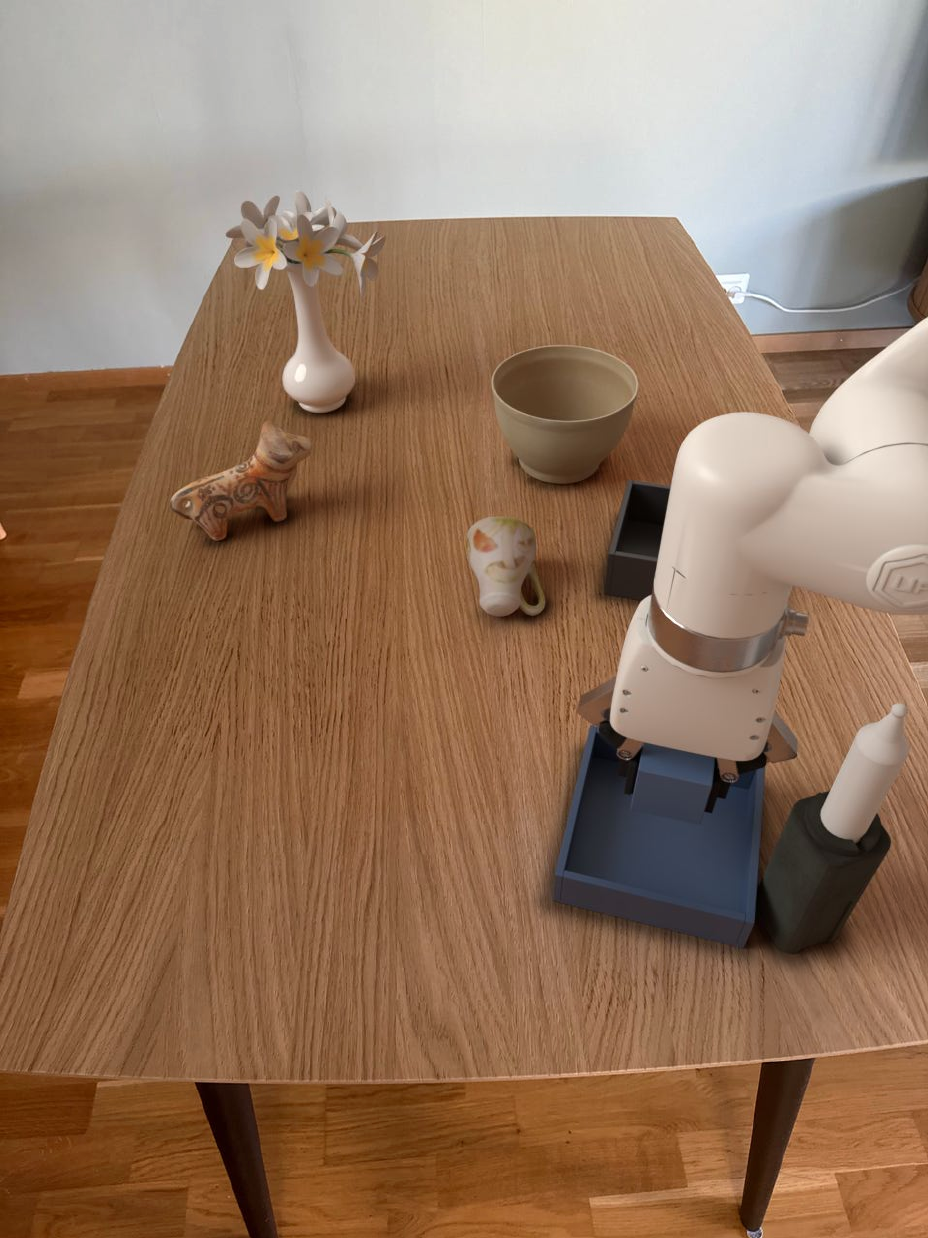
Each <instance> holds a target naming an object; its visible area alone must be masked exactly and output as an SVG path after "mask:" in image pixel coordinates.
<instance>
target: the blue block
mask: <svg viewBox="0 0 928 1238" xmlns="http://www.w3.org/2000/svg"><path fill="white" fill-rule="evenodd" d="M715 758H716V757H711V756H706V755H701V754H697V753H692V752H687V751H682V750H678V749H673V748H668V747H664V746H659V745H655V744H650V743H646V742H645V744H644V745H643V746H642V752H641V757H640V763H639V768H638V773H637V778H636V783H635V788H634V793H633V797H632V803H631V810H636V811H640V812H644V813H649V814H653V815H658V816H662V817H666V818H671V819H675V820H680V821H684V822H688V823H693V824H697V825H700V824H701V821H702V817H703V814H704V811H705V808H706V805H707V801H708V798H709V795H710V792H711V789H712V785H713V776H714V767H715Z"/></svg>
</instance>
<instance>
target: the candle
mask: <svg viewBox="0 0 928 1238" xmlns="http://www.w3.org/2000/svg"><path fill="white" fill-rule="evenodd" d="M908 713H909V708H908V706H906V705H905V704H904V703H902V702H897V703H894V704H893V705H892V706H891V708H890V712H889V713H888V714H886V715H885V716H883V717H882V718H881V719H880V720H878V721H875V722H870V723H867V724H865V725H863V726H862V727H861V728H860V729H859V730H858V731H857V733H856V734H855V737H854V739H853V740H852V744H851V745H850V748H849V750H848V752H847V754H846V756H845V758H844V761H843V762H842V765H841V767H840V769H839V771H838V774H837V776H836V777H835V779H834V781H833V784H832V786H831V787H830V788H831V789H829V790H828V791H825V792H821V791H819V792H818V793H816V794H814V795H810V796H807V797H804V798H801V799H798V800H797V801H796V802H794V804H793V805H792V807H791V810H790V811H789V814H788V817H787V819H786V822H785V824H784V826H783V828H782V831H781V833H780V836H779V838H778V840H777V842H776V845H775V847H774V850H773V851H772V854H771V857H770V859H769V862H768V864H767V866H766V869H765V871H764V873H763V876H762V878H761V880H760V881H759V885H758V886H757V895H756V910H755V912H756V913H757V915H758V916H759V918H760V920H761V923H762V924H763V926H764V927H765V929H766V931H767V933H768V935H769V937H770V938H771V940H772V942H773V944H774V945H775V947H777V948H778V949H779V950H780V951H782V952H784V953H787V954H793V955H794V954H798V953H799V952H800V950H802V949H805V948H809V947H811V946H814V945H818V944H820V943H825V942H827V943H829V944H830V943H832V942H834V941H835V940H836V939H837V937H838V936H839V934H840V932H841V931H842V929H843V927H844V926H845V924H846V923H847V921H848V920H849V918H850V916H851V914H852V912H853V911H854V909H855V908H856V907H857V904H858V903H859V901H860V899H861V898H862V896H863V895H864V893H865V891H866V889H867V887H868V886H869V885H870V883H871V881H872V879H873V878H874V876H875V874H876V872H877V871H878V869H879V867H880V866H881V864H882V863H883V861H884V859H885V858H886V856H887V854H888V853H889V851H890V849H891V847H892V838H891V836H890V834H889V832H888V831H887V829H886V827H884V825H883V824H882V821H881V817H880V816H879V814H878V812H879V810H880V808H881V806H882V804H883V802H884V801H885V799H886V797H887V795H888V794H889V792H890V790H891V788H892V787H893V785H894V782H895V780H896V779H897V777H898V775H899V773H900V772H901V770H902V769H903V766H904V765H905V762H906V761H907V758H908V757H909V754H910V744H909V741H908V738H907V737H906V735H905V733H904V732H905V731H904V729H905V728H904V727H905V725H904V724H905V723H904V722H905V721H904V720H905V717H906V716H908Z"/></svg>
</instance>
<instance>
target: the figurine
mask: <svg viewBox="0 0 928 1238" xmlns="http://www.w3.org/2000/svg"><path fill="white" fill-rule="evenodd" d="M312 447H313V446H312V442H311V440H310V439H309V437H307V436H301V435H297V434H293V433H290V432H288V431H286V430H284V429H282V428H279V427H277V426H275V424H274V422H273V421H272V420H269V419H268V420H265V421H264V422H263V423H262V426H261V429H260V434H259V438H258V443H257V447H256V450H255V452H254V453H253V454H252V456H250V458H249V459H248V460H247V459H246V461H244V462H242V463H240V464H238V465H235V466H233V467H231V468H228V469H226V470H224V471H221V472H218V473H214V474H211V475H207V476H204V477H201V478H197V479H196V480H194V481H192V482H191V483H189V484H187V485H184V486H183V487H182V488H181V489H179V490H177V491H176V492H175V493H174V494H173V495H172V497H171V499H170V501H169V503H170V504H169V505H170V508H171V509H170V510H171V511H172V513H174V514H175V515H176V516H177V517H178V518H180V519H183V520H191V521H194V522H195V523H196V524H197V525H198V526H200V528H202V529H203V530H204V531H205V532H206V534H207V535H208V536H209V538H210V539H212V540H213V541H215V542H218V541H222V540H224V539H225V538H226V537H227V533H228V522H229V517H230V516H232V515H233V514H238V513H243V512H246V511H248V510H250V509H253V508H255V507H261V508H263V509H264V510H265V511H266V512H267V514H268V515H269V517H270V518H271V520H272V521H274V522H282V521H284V520H285V519H287V516H288V515H287V514H288V513H287V496H288V492H289V490H290V488H291V486H292V485H293V483H294V480H295V478H296V476H297V473H298V469H297V468H298V467H297V466H298V464H299V463H301V462H302V461H303V460H305V459H307V458H308V457H309V456H311V454H312ZM186 501H187V503H186V504H185V506H184V503H185V502H186Z"/></svg>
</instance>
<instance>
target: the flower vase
mask: <svg viewBox="0 0 928 1238" xmlns="http://www.w3.org/2000/svg"><path fill="white" fill-rule="evenodd" d="M293 196H294V197H293V200H294V201H293V202H294V206H295V211H296V213H295V212H293V211H291V210H283V211H281V212H280V215H278V214H276V213H277V210H278V208H279V204H280V200H281V197H280V196H279V195H278V194H277V195H274V196H273V197H271V198H270V199H269V200H268V201H267V202H266V204H265V205H264V207H263V210H262V212H261V210H260V208H259V207H258V206H257V205H256V204H255V203H254V202H253V201H251V200H245V201H243V202H242V203H241V204H240V214H241V217H242V220H240V224H238V225H234V226H232V227H230V228H229V229H228V230H227V231H226V232H225V237H226V238H228V239H245V241H244V246H245V248H243V249H241V250H239V251H238V252H237V253H236V254H235V256H234V259H233V262H234V265H235V266H236V267H237V268H240V269H249V268H252V267H253V268H254V267H256V266H257V267H256V269H255V274H254V276H255V277H254V279H255V284H256V286H257V288H258V290H261V291H262V290H264V289H265V288H267V285H268V282H269V279H270V274H271V272H272V269H275V270H278V271H281V270H285V272H286V274H287V277H288V280H289V283H290V286H291V287H290V288H291V291H292V294H293V300H294V307H295V315H296V323H297V344H296V348H295V350H294V353H293V355H292V356H291V357H290V358H289V359H288V361H287V362H286V364H285V366H284V368H283V372H282V377H281V378H282V379H281V382H282V386H283V389H284V391H285V392H286V394H288V396H289V397H290V398H291V399H292V400H294V401H296V402H298V405H299V406H300V407H301V409H303V410H304V411H307V412H309V413H314V414H324V413H330V412H333V411H336V410H337V409H339V408H341V407H342V406H343V405H344V404H345V402H346V400H347V396H348V395H349V394H350V393H351V391H352V390H353V388H354V386H355V385H356V378H357V375H356V370H355V368H354V366H353V364H352V362H351V361H350V359H349V358H348V357H346V355H345V354H344V353H343V352H341V351H340V350H338V349H336V348H335V346H334V344H332V342H331V340H330V338H329V336H328V334H327V330H326V327H325V323H324V318H323V317H324V316H323V312H322V307H321V301H320V295H319V283H318V282H319V278H320V270H322V271H323V272H325V273H327V274H330V275H332V276H342V275H343V274H344V271H345V270H344V266H343V264H342V263H341V262H340V261H339V259H337V258H336V256H334V255H331V254H339V255H344V256H346V257H348V258H351V259H352V261H353V264H354V267H355V271H356V275H357V279H358V285H359V291H360V296H361V299H364V297H365V293H366V290H367V278H368V279H369V280H370V281H371V282H372V281H373V282H375V281H376V280H377V279H378V276H379V265H378V263H377V262H376V261H375V260H374V259H373V258H374V257H376V256H377V255H378V254H379V253H380V252H381V251H382V249H383V247H384V246H385V243H386V242H387V241H386V240H387V236H386V235H383V236H381V237H379V238H378V235H379V234H378V233H379V231H378V230H376V231H375V232H374V233H373V234H372V236H371V237H370V238H369V240H368V241H366V243H364V244H362V243H361V241H359V240H358V239H357V238H356V237H355V236H353V235H351V234H347V232H348V228H349V225H348V222H347V219H346V217H345V216H344V214H343V213H342V211H341V210H336V208H335V207H333V206H332V204H331V203H330V200H329V199H328V197H327V196H325V197H324V198H325V203H326V206H322V207H319V208H318V209H316V210H315V211H313V212H312V206H311V202H310V200H309V198H308V197H307V195H306V194H305V192H303V191H302V190H300V189H299V190H296V191H295V192H294V195H293ZM328 225H329V227H327V226H328ZM377 238H378V239H377ZM278 241H279V242H278ZM280 242H281V243H283V244H284V245H282V244H281V243H280ZM339 245H340V246H344V247H346V248H349V249H351V250H354V251H355V252H354V253H353V252H350V251H348V250H344V249H338V248H333V247H336V246H339ZM278 247H279V248H280V249H282V250H280V249H279V248H278Z"/></svg>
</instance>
